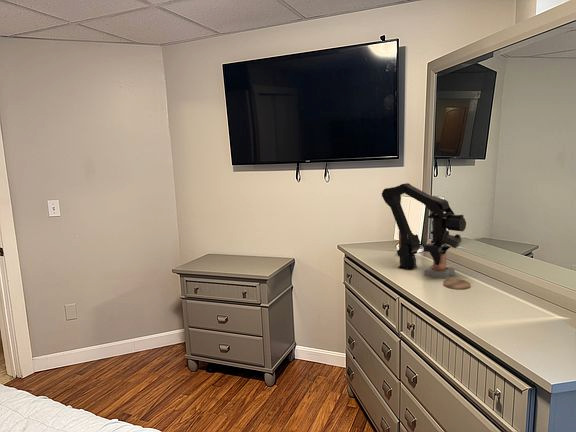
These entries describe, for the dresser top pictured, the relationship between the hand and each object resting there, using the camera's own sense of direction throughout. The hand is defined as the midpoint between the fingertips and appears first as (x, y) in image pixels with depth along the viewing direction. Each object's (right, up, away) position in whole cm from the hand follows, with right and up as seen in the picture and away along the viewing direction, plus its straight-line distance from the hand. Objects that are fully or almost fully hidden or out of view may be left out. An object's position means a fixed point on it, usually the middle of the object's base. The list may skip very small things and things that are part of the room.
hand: (439, 263), depth 169 cm
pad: (+1, -7, -14) cm, 16 cm away
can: (-5, 0, +33) cm, 33 cm away
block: (0, -4, 0) cm, 4 cm away
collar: (0, -5, +1) cm, 5 cm away
